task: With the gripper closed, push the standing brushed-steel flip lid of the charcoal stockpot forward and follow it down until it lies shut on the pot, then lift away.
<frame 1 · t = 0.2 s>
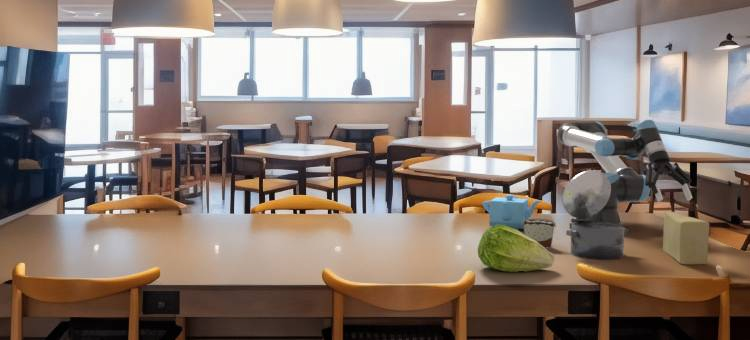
hand: (675, 200, 279), 15 cm above the table, fingers open, 13 cm apart
teakettle: (511, 229, 298), on the table
stockpot: (596, 253, 252), on the table
food container: (539, 246, 265), on the table
lid: (585, 196, 258), point 20 cm above the table, hinge at 72.0°
lettuce: (515, 270, 228), on the table
cheese: (678, 258, 247), on the table
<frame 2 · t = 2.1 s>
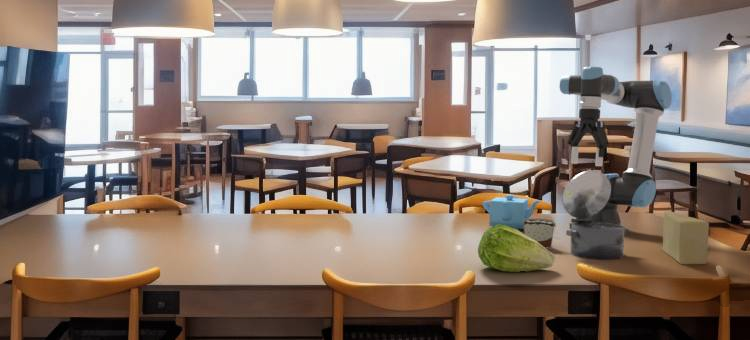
hand: (586, 164, 265), 30 cm above the table, fingers open, 13 cm apart
nothing on the table moved.
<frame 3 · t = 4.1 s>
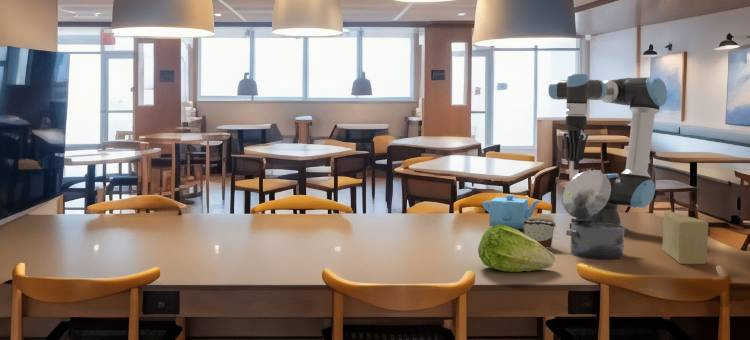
hand: (574, 178, 265), 25 cm above the table, fingers closed
nothing on the table moved.
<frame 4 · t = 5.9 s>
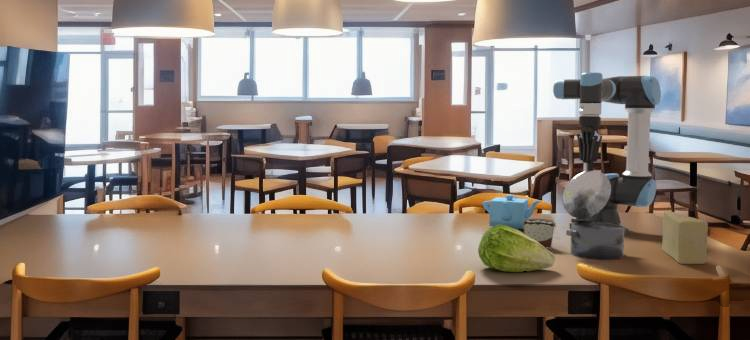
hand: (587, 180, 256), 26 cm above the table, fingers closed
lid: (585, 196, 258), point 20 cm above the table, hinge at 71.9°, touching gripper
everything else where it was.
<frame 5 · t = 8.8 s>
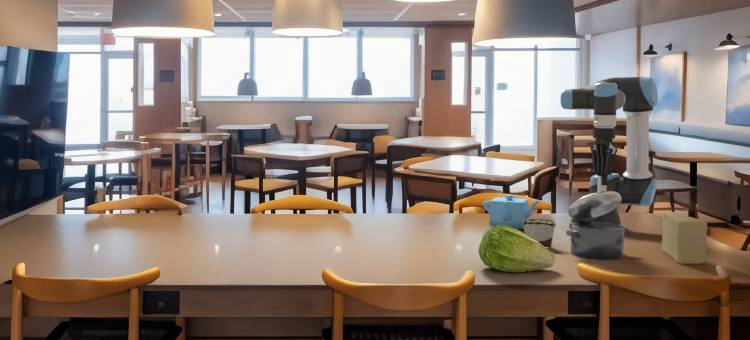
hand: (601, 194, 248), 22 cm above the table, fingers closed
lid: (593, 205, 253), point 17 cm above the table, hinge at 37.0°, touching gripper
everything else where it was.
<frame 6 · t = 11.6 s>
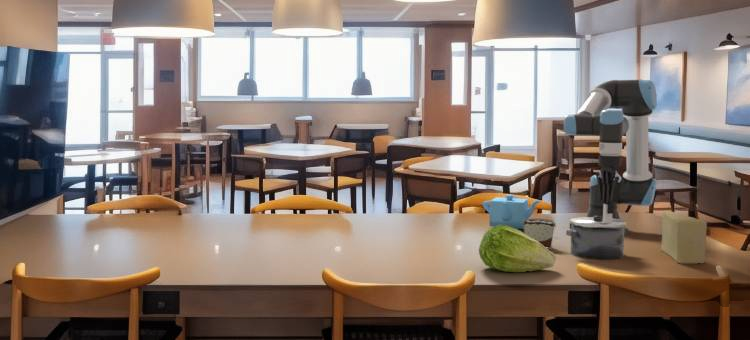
hand: (607, 222, 245), 12 cm above the table, fingers closed
lid: (596, 220, 251), point 12 cm above the table, hinge at 1.8°, touching gripper
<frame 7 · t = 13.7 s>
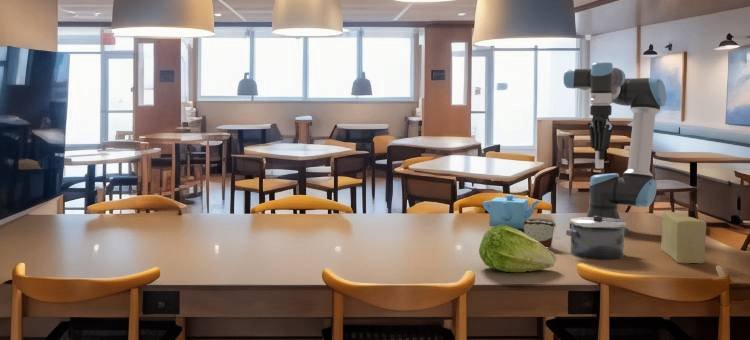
hand: (599, 168, 263), 30 cm above the table, fingers closed
lid: (596, 221, 251), point 12 cm above the table, hinge at 1.7°
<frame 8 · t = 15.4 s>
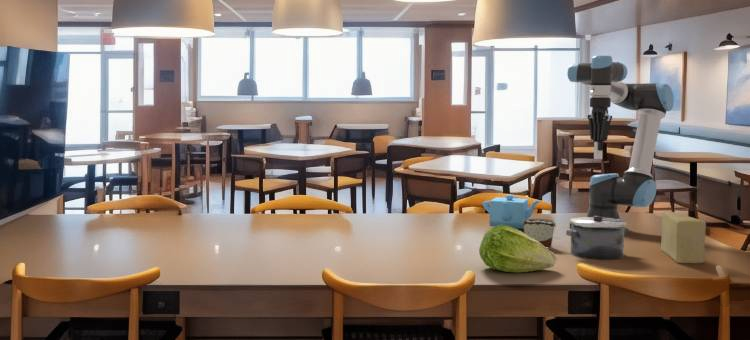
hand: (598, 158, 269), 32 cm above the table, fingers closed
at the end: lid at +2° (first picture: +72°); lid touching nothing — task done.
